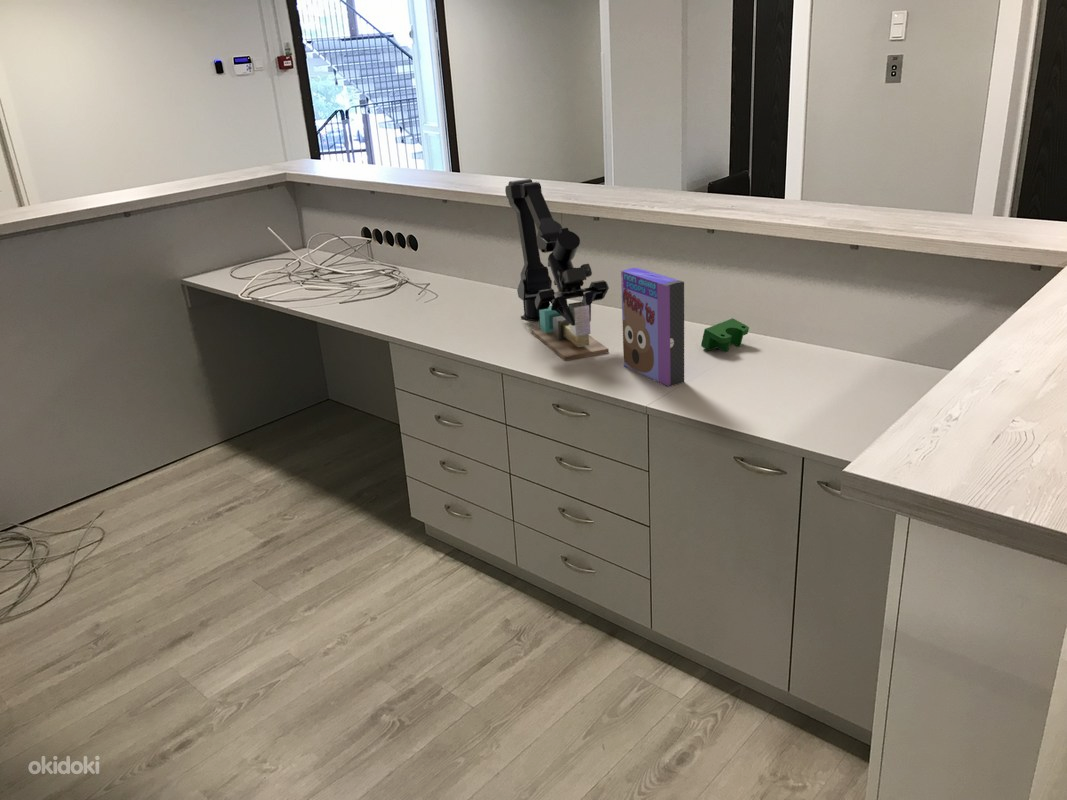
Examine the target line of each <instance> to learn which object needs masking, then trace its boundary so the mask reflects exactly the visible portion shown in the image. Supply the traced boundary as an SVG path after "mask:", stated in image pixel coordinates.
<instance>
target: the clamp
mask: <svg viewBox="0 0 1067 800" xmlns="http://www.w3.org/2000/svg"><path fill="white" fill-rule="evenodd" d="M749 331H750V327H749V326H748V325H746V324H744V323H742V322H741V321H739V320H737V319H735V318H730V319H727V320H723V321H722V322H719V323H717V324H714V325H711V326H709V327H706V328H704V331H703V335H702V340H701V344H700V345H701V346H700V347H701V348H703V349H704V350H706V351H708V352H709V351H712V350H714V349H719V350H721V351H723V352H724V353H727V352H729V349H730V346H731V345H734V346H736V347H738V348H739V347H741V346H742V342H743V339H744V336H746V335H748V333H749ZM730 344H731V345H730Z"/></svg>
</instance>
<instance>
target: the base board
mask: <svg viewBox="0 0 1067 800" xmlns="http://www.w3.org/2000/svg"><path fill="white" fill-rule="evenodd" d="M530 333H531V334H532V335H533V336H534V337H536V338H537V339H538V340H539V341H541V342H542V344H544V345H545V346H547V347H548V349H550V350H551V351H553V352H554V353H555V354H556V355H557V356H559V357H560V358H561V359H562V360H564V361H566V362H567V361H571V360H575V359H582V358H587V357H592V356H596V355H602V354H609V352H610V350H609V348H608V347H607V346H606V345H604V344H603V343H601V342H600V341H598V340H597V339H595V338H594V337H593V336H592V335H591V334H589V345H587V346H582V347H577V346H576V345H575V344H573V343H572V342H571V341H569V340H568V339H566V340H560V341H559V340H558V339H556V338H555V337H554V333H553V332H548V333H545V332H544V331H543V330H541V329H540V327H537V328H532V329H530Z"/></svg>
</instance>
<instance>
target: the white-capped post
mask: <svg viewBox="0 0 1067 800" xmlns="http://www.w3.org/2000/svg"><path fill="white" fill-rule="evenodd" d="M567 304H568V307H569V309H570V312H571V314H572V316H573V319H574V323H575V324H574V326H572V325H571V324H570V323H569V322H568V323H562V324H561V333H562V335H563V336H564V337H565V338H567V339H568V340H569V341H571V342H572V343H573V344H575V345H576V346H577V347H582V346H587V345H589V335H591V321H590V313H589V305H588V304H586V303H585V302H583V301H582V300H581V301H577V302H572V303H567Z"/></svg>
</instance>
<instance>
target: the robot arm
mask: <svg viewBox="0 0 1067 800" xmlns="http://www.w3.org/2000/svg"><path fill="white" fill-rule="evenodd" d="M504 188H505V195H506V198H507V199H508V205H509V206H510V207H511V208H512V209H513V211H514V212H515V213H516V218H517V219H516V220H517V224H518V226H517V227H518V231H519V239H520V245H521V249H522V256H523V263H524V265H523V268H522V269H521V272H520V281H519V284H518V287H517V290H516V291H517V292H516V293H517V297H518V298H519V299H520V300H522V302H523V303H522V304H523V315H521V316H520V318H521V319H523V320H529V321H534V322H540V314H539V310H543V309H548V307H549V306H552V307H551V310H555V311H556V312H558V313H559V314H560V315H562V316H563V317H564V318H565V319H566V320H567V321H568V322H569V323H570V324H571V325H572V326H574V324H575V323H574V319H573V316H572V314H571V312H570V309H569V305H568V304H569V303H568V300H569V299H570V300H571V299H575V298H581V302H582V301H583V302H585V303H586V304H588V305H589V313H590V322H591V321H592V313H591V312H592V304H593V302H595V301H602V300H603V299H604V298H605V297H606V295H607V293H608V291H609V289H610V287H609V285H608V282H607V281H606V280H604V279H602V280H596V281H591V283H590V284H589V286H588V287H583V285H584V281H586V280H587V278H590V277H592V275H593V271H592V268H591V266H590V263H584V264H581V265H580V267H574V264H573V262H572V260H573V259H574V258H575V256H576V254H577V251H578V248H579V246H580V244H581V239H580V237H579V236H578V235H577V234H576V233H575V232H573V231H570V230H569V228H568V227H563V226H562V224H561V223H560V222H558V221H556V220H555V219H554V218H553V215H552V213H551V210H550V209H549V206H548V204H547V202H546V200H545V197H544V195H543V192H542V185H541V182H539V181H535V182H534V181H533V180H532V179H531V178H525V179H517V180H511V181H509V182H508V185H505V187H504ZM540 252H541V253H544V254H546V253H549V256H548V257H547V266H545V265H544V263H543V262H542V261H541V257H540ZM548 267H549V268H550V271H551V274H552V275H553V281H552V278H551V276H550V273H549V268H548ZM553 284H554V285H553ZM552 285H553V286H556V288H557V291H555V290H554V289H553V288H552ZM582 287H583V288H582Z"/></svg>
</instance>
